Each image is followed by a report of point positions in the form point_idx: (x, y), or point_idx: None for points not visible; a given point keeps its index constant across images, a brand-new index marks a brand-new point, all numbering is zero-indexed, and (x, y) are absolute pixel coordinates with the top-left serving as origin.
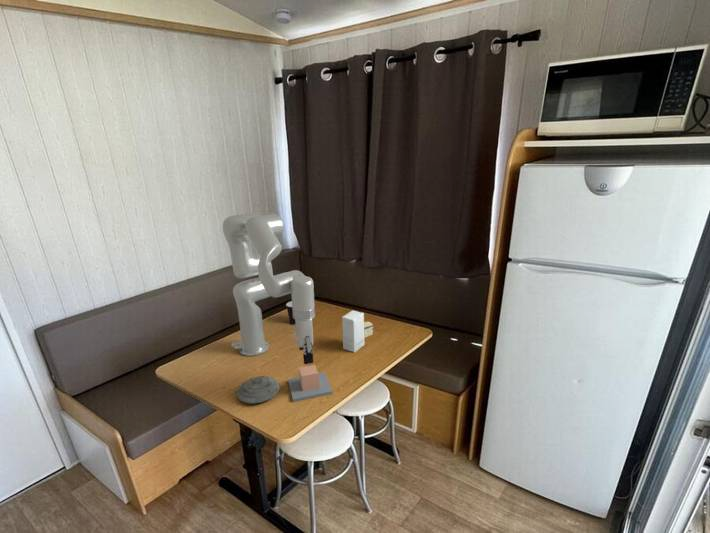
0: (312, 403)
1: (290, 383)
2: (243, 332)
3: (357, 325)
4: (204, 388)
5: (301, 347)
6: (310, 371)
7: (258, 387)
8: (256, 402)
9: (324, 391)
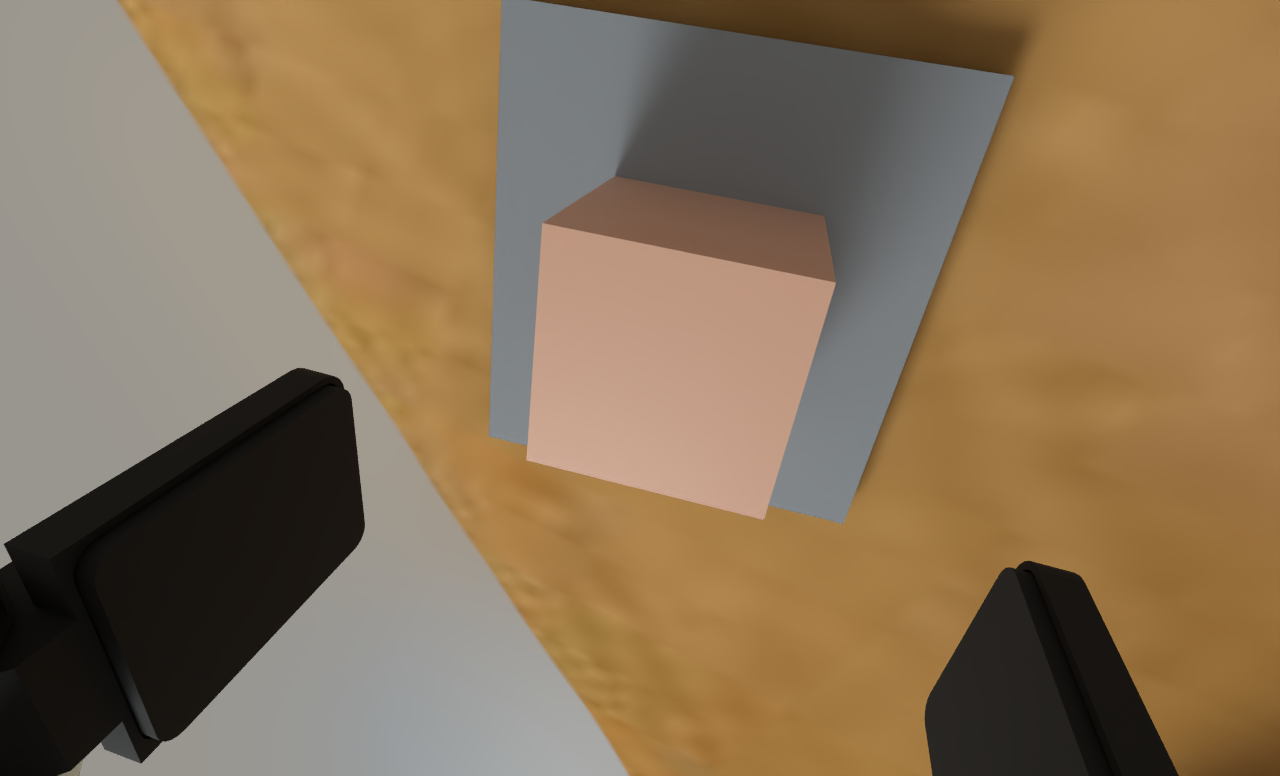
0: (422, 202)
1: (873, 77)
2: None
3: None
4: None
5: (1012, 660)
6: (613, 393)
7: None
8: None
9: (511, 375)
